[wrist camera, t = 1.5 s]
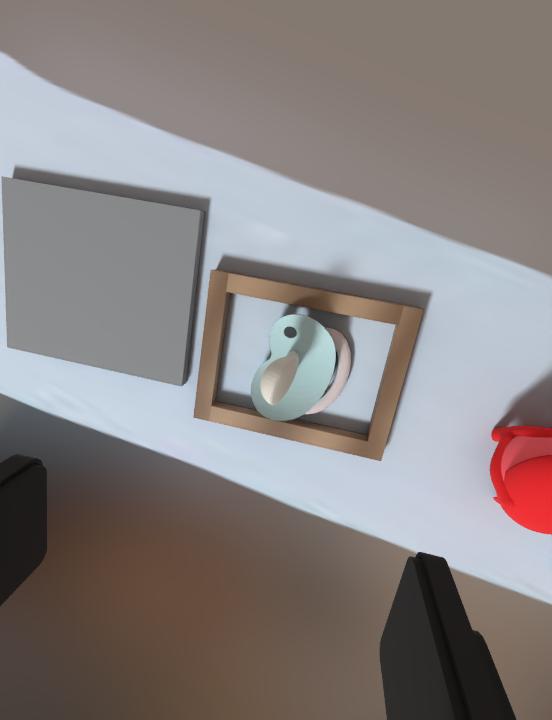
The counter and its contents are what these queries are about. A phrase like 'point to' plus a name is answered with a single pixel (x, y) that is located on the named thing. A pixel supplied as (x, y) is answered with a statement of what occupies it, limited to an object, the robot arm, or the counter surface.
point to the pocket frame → (316, 299)
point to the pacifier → (300, 369)
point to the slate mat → (100, 278)
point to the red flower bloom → (524, 475)
